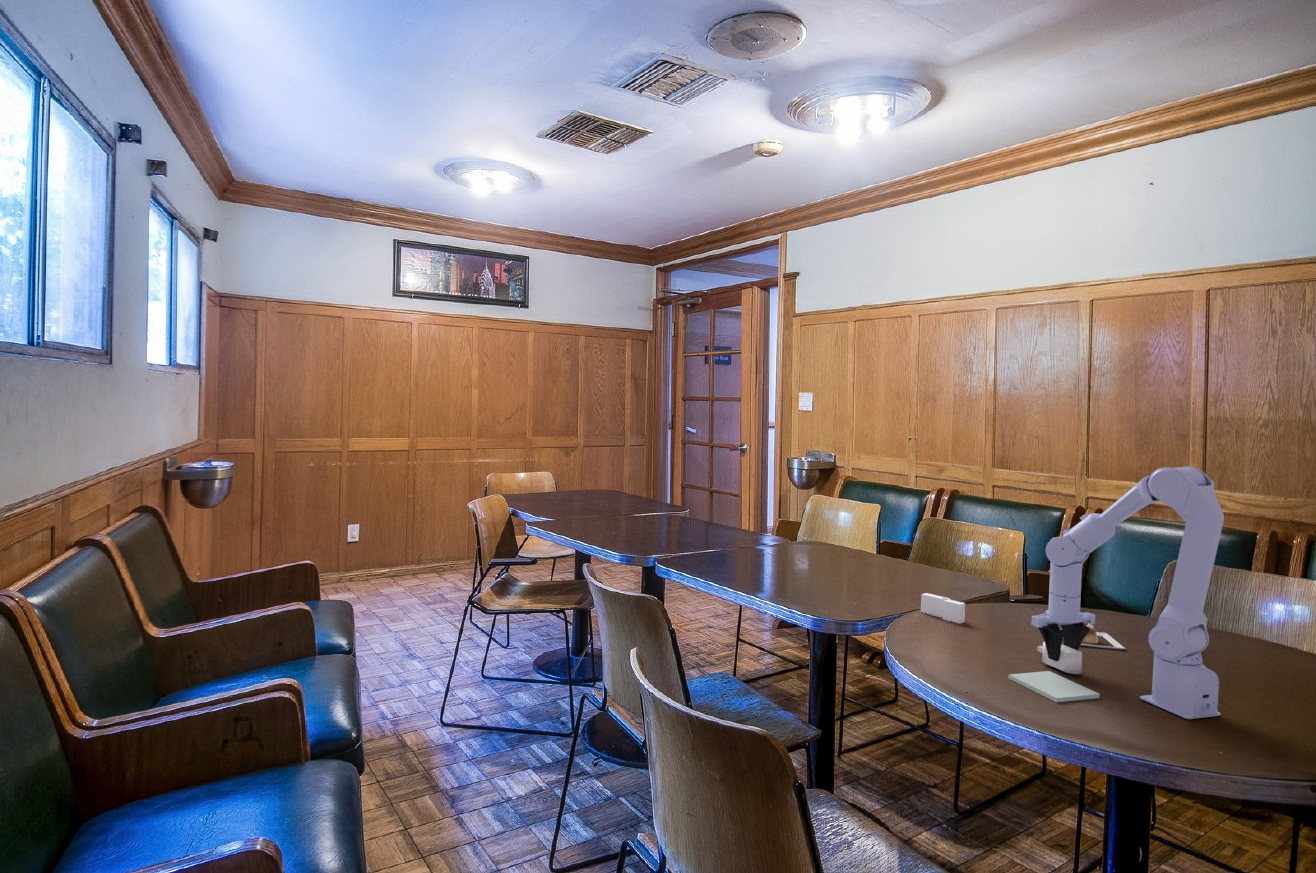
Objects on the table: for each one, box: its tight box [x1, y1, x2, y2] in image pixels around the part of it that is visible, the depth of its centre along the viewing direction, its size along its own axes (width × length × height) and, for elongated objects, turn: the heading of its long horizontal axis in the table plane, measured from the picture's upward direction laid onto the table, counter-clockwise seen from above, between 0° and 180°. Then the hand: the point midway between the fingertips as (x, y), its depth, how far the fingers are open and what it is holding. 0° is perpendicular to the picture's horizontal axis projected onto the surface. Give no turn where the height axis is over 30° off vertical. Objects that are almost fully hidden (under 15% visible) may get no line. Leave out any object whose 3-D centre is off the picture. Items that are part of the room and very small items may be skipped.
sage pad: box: [1007, 670, 1101, 703], centre depth 140 cm, size 12×10×1 cm
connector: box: [1036, 640, 1083, 675], centre depth 151 cm, size 10×4×4 cm, turn 16°
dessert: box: [1060, 623, 1126, 650], centre depth 171 cm, size 12×12×5 cm
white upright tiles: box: [920, 592, 966, 625], centre depth 187 cm, size 15×11×6 cm
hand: (1061, 658), depth 150 cm, fingers closed on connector, 4 cm apart
